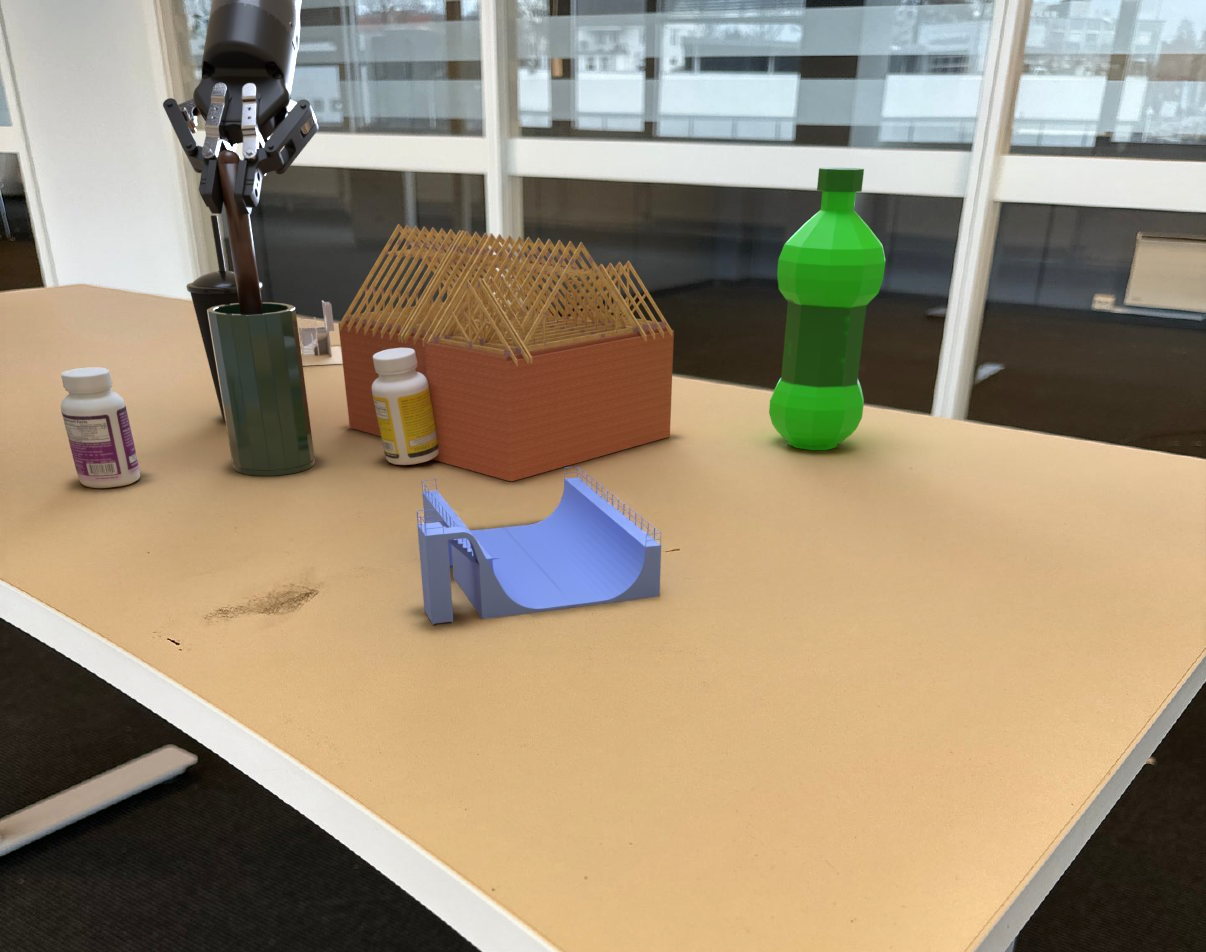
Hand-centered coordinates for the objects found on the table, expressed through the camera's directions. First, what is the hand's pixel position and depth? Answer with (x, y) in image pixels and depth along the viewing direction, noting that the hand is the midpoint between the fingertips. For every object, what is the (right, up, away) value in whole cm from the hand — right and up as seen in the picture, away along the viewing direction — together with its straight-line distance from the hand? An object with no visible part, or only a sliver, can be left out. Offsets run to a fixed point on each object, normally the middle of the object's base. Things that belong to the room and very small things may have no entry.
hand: (227, 206), depth 94 cm
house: (+21, -11, +24) cm, 34 cm away
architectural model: (-9, +9, +57) cm, 58 cm away
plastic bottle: (+54, -13, +22) cm, 60 cm away
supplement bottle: (+13, -17, +15) cm, 26 cm away
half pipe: (+25, -33, -10) cm, 43 cm away
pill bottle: (-14, -21, +9) cm, 27 cm away
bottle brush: (0, -12, +10) cm, 16 cm away
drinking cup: (-8, -8, +30) cm, 32 cm away
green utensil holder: (0, -18, +14) cm, 22 cm away
